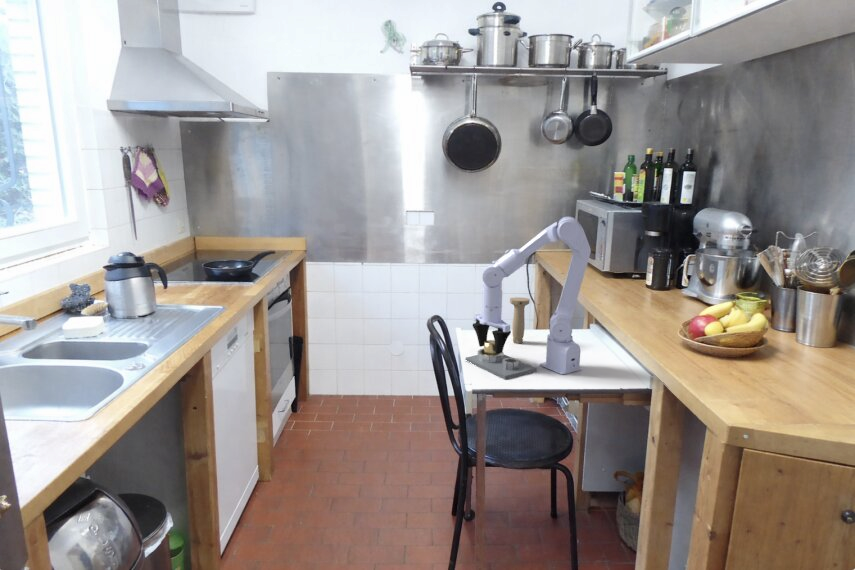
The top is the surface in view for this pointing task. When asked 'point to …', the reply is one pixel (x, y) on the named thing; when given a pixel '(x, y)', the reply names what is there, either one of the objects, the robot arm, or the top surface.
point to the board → (497, 367)
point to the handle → (518, 318)
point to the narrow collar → (510, 363)
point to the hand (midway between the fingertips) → (490, 349)
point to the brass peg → (489, 347)
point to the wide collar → (489, 357)
